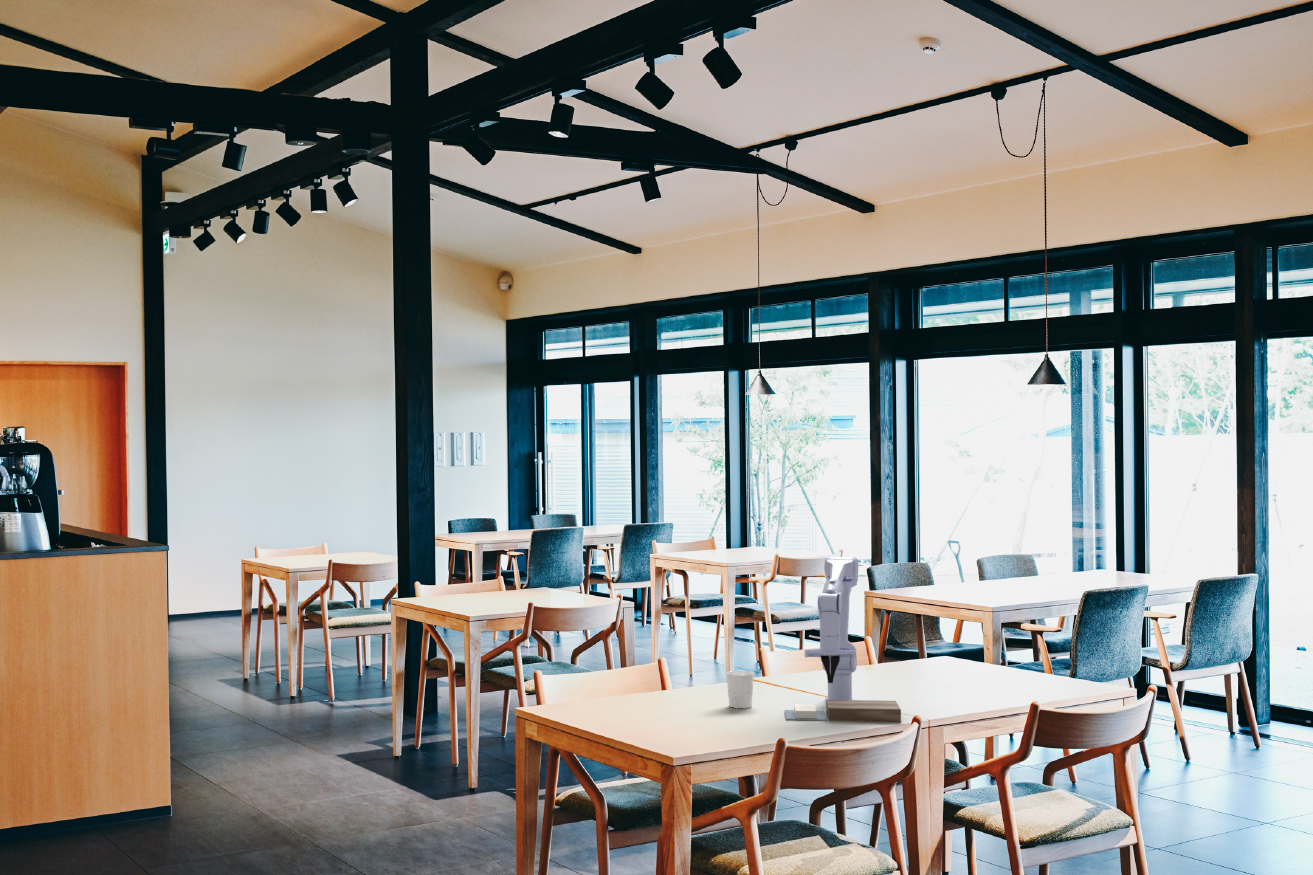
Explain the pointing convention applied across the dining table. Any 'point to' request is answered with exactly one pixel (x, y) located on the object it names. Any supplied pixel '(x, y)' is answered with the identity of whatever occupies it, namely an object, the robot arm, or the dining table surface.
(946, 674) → the dining table surface
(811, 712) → the cream tile
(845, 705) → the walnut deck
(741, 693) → the white cup
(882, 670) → the dining table surface
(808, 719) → the slate mat
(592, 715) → the dining table surface
